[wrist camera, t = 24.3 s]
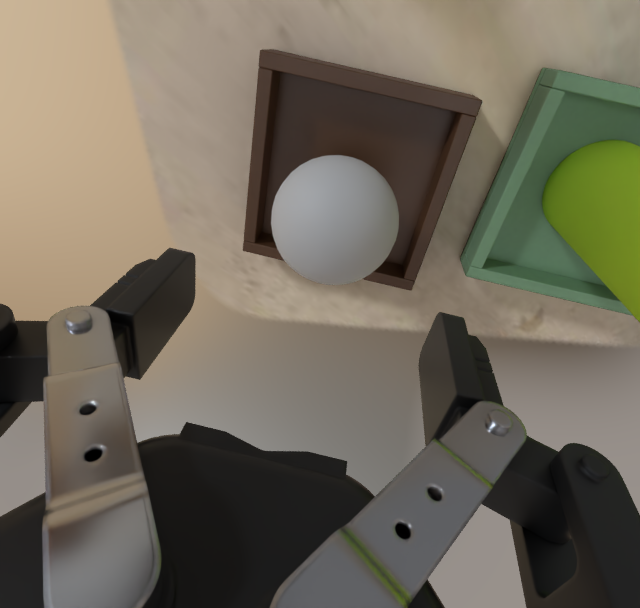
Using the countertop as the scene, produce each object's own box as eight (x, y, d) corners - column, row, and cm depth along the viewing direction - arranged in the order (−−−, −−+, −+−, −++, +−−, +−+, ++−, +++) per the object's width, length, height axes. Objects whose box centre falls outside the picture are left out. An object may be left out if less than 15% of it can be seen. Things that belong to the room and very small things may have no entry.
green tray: (542, 67, 22) (559, 69, 20) (759, 116, 22) (800, 124, 20) (459, 259, 29) (465, 276, 26) (625, 298, 28) (644, 318, 26)
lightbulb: (352, 103, 24) (330, 139, 14) (415, 181, 26) (431, 257, 16) (282, 172, 26) (227, 240, 17) (344, 238, 28) (323, 331, 19)
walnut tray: (271, 49, 23) (260, 49, 21) (474, 95, 23) (482, 100, 21) (253, 236, 30) (242, 251, 28) (409, 273, 30) (411, 291, 28)
